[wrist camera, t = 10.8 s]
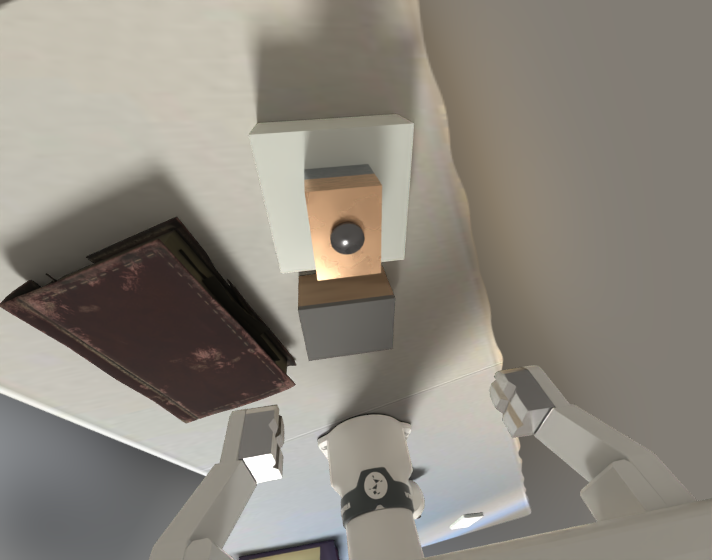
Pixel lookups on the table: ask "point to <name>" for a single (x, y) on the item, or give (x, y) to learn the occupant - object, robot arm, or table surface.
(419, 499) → the spotlight
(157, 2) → the table surface
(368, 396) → the table surface
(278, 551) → the book
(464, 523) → the external hard drive
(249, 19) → the table surface
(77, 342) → the diary
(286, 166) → the grey stand
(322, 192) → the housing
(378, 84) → the table surface
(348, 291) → the walnut stand
